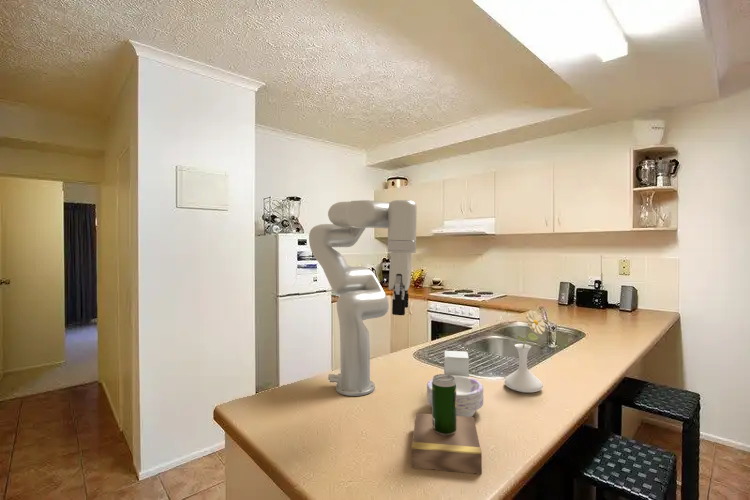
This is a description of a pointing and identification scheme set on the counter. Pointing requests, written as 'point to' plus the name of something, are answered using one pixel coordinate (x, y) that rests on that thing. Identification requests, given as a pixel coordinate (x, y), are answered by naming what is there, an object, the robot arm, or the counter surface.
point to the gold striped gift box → (446, 446)
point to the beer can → (444, 404)
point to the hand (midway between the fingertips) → (400, 310)
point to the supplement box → (456, 363)
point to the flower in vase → (522, 376)
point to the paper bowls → (464, 395)
